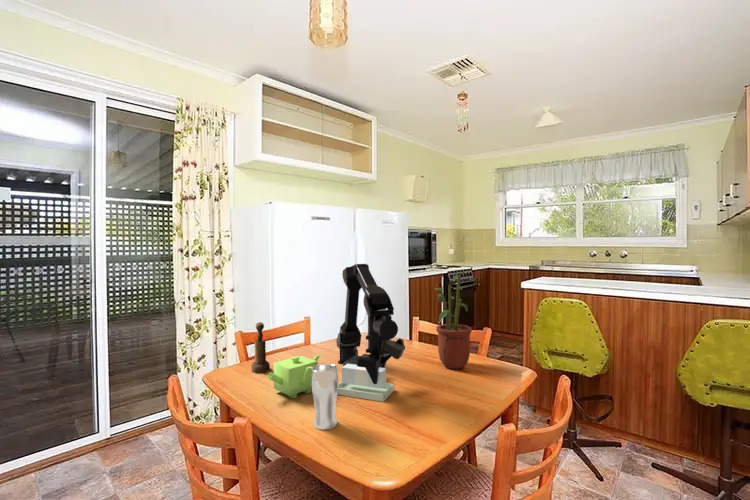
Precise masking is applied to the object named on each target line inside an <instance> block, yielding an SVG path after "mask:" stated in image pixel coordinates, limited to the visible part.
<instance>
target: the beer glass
mask: <svg viewBox="0 0 750 500" xmlns="http://www.w3.org/2000/svg"><path fill="white" fill-rule="evenodd" d="M338 383H339V373H338V366H337V365H336V364H333V363H321V364H318V365H316V366H314V367H313V368H312V389H311V391H312V392H311V393H312V400H313V405H314V420H313V426H314V428H315V429H317V430H321V431H324V430H325V431H326V430H327V431H328V430H331V429H333V428H335V427H336V426H337V425H338V419H337V414H336V409H337V408H336V406H337V400H338V395H337V394H338Z"/></svg>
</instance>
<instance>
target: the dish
mask: <svg viewBox="0 0 750 500" xmlns="http://www.w3.org/2000/svg"><path fill="white" fill-rule="evenodd" d="M394 391H395V384H394V383H388V382H386V385H385V386H384V387H383V388H382V389H381V388H374V387H367V386H360V385H353V384H346V383H342V380H341V381H340V382H338V394H337V396H338V395H339V396H346V397H351V398H358V399H365V400H369V401H376V402H382V403H383V402H386V401H387V399H388V398H389V397H391V395H392V393H394Z"/></svg>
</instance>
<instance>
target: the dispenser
mask: <svg viewBox="0 0 750 500" xmlns="http://www.w3.org/2000/svg"><path fill="white" fill-rule="evenodd" d="M360 356H361V355H358V356H353V357H351V358H350V359H348V360H347V361H345V362H344V363H342V367H343V366H345V365H346V364H355V365H357V359H358V358H359V357H360Z"/></svg>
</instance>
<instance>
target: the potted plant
mask: <svg viewBox="0 0 750 500" xmlns="http://www.w3.org/2000/svg"><path fill="white" fill-rule="evenodd" d="M455 280H456V281H457V283H456V297H455V296H452V284H451V283H448V284H447V285H448V287H447V290H448V292H447V295H448V297H447V298H448V301H446V298H445V294H444V292H443V291H444V288H440V287H437V288H434V290H437V291H440V293H438V294H437V296H438V297H437V299H438V301H437V302H438V303H442V304H443V307H444V308H443V309H444V310H443V311H441V312H440V313H439V320H438V325H436V329H435V330H436V332H437V342H438V343H437V346H438V347H437V349H438V356H439V360H440V362H441V363H442V366H444V367H446V368H447V369H449V370H460V369H462V368H464V367H465V366H467V364H468V362H469V360H470V356H471V355H470V353H471V333H472V330H473V329H472V327H471V326H468V325H466V324H459V318H460V317H459V316H460V309H461V307H464V308H465V310H466V311H465V312H468V309H469V306H468V304H466V303H465V302H464V303H463V302H462V301H463V300H462V299H461V298H460V290H461V291H463V286H461V275H459V274H456V275H453V277H452V282H455ZM465 288H467V287H466V286H465ZM455 298H456V299H455ZM454 299H455V301H456V302H455V309H454V314H452V300H454ZM447 304H448V306H447ZM452 317H453V323H452ZM444 318H445V322H446V324H445V323H444V324H440V323H441V321H442V320H443V319H444Z"/></svg>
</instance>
